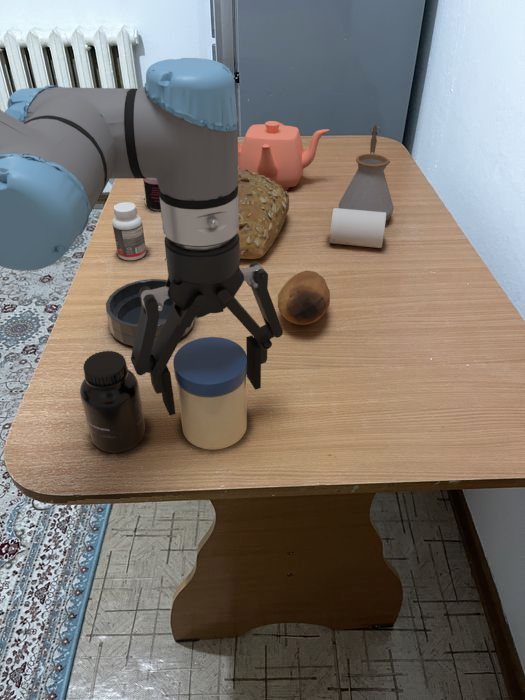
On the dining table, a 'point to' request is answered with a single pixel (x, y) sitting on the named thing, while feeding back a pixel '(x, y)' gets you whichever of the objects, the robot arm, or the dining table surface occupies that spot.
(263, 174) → the teapot
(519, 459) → the dining table surface
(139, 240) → the pill bottle
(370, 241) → the cup
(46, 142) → the robot arm
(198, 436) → the jar
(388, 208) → the coffee pot
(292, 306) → the potato
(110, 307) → the bowl
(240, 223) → the bread
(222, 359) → the jar lid
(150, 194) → the beverage can
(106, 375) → the supplement bottle
